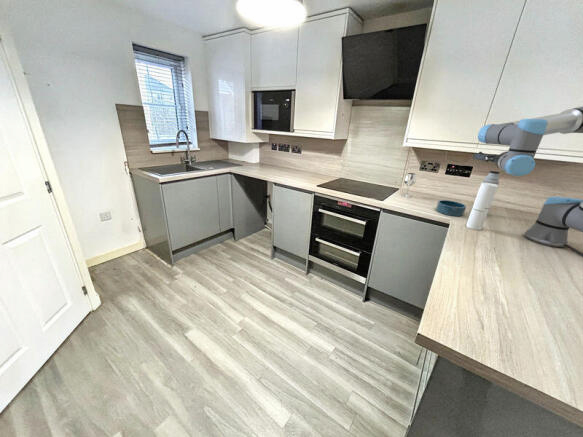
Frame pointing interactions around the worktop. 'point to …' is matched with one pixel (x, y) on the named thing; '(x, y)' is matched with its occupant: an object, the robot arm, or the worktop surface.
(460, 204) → the bowl
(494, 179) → the thermos bottle
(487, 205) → the cylindrical container
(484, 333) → the worktop surface
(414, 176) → the wineglass
